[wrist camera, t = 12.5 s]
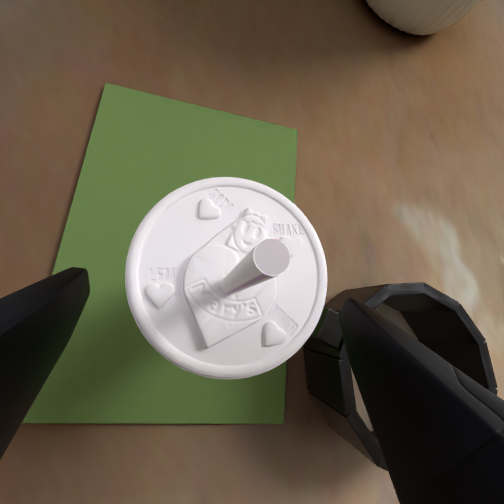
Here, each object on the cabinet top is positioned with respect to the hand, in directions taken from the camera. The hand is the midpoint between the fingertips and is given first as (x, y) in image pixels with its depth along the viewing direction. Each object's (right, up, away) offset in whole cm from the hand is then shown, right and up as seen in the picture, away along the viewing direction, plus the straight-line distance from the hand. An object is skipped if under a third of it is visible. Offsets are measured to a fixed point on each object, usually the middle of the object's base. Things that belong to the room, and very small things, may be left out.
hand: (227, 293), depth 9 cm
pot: (+10, -7, +10) cm, 15 cm away
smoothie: (-2, -1, +8) cm, 9 cm away
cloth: (-4, +2, +9) cm, 10 cm away
